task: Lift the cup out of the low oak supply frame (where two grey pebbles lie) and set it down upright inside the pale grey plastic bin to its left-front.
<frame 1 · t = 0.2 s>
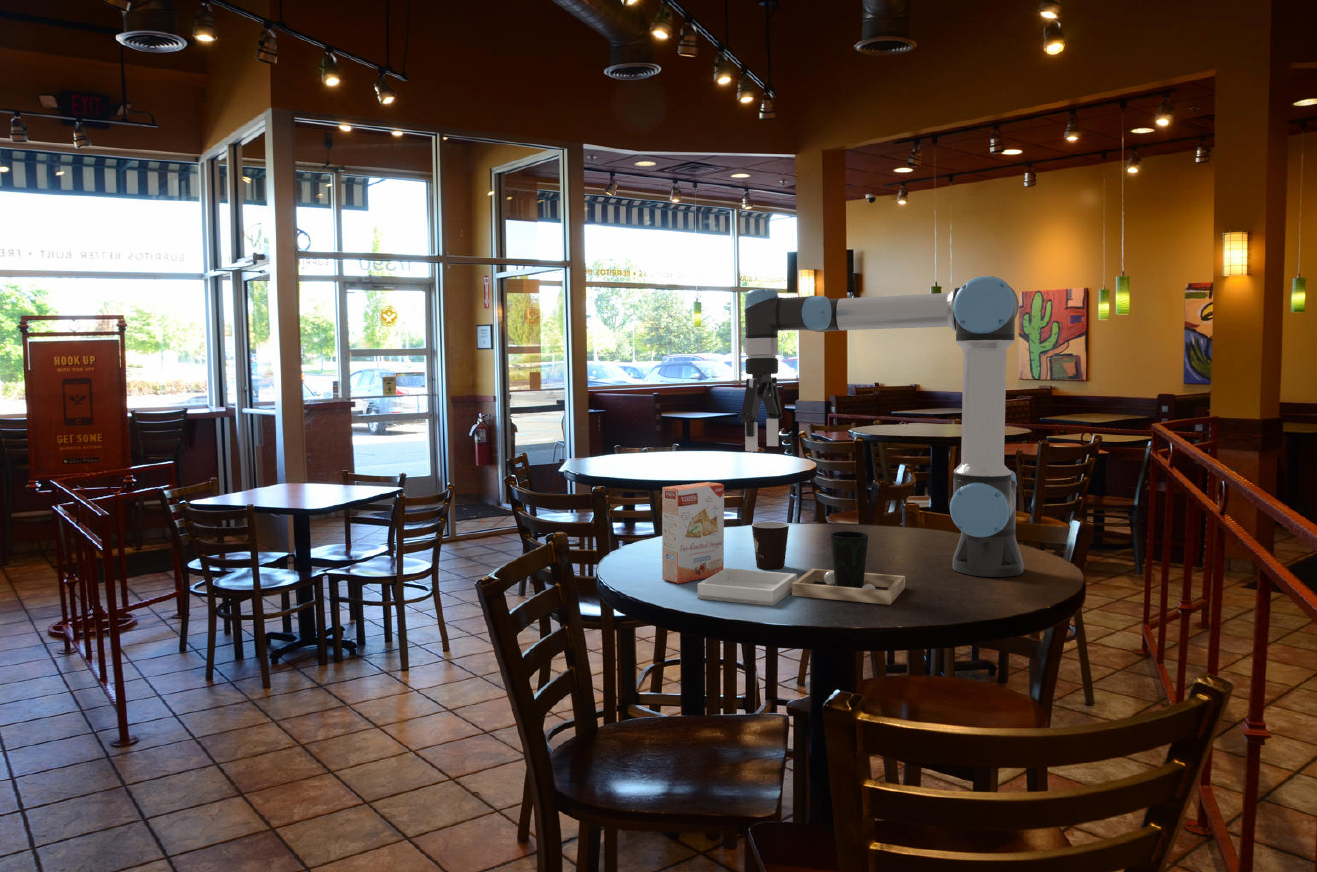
hand: (762, 448, 221), 28 cm above the table, fingers open, 13 cm apart
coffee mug: (771, 566, 223), on the table
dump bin: (748, 593, 197), on the table
supply frame: (849, 591, 197), on the table
cup: (849, 592, 197), resting in supply frame
pebble a: (868, 598, 191), resting in supply frame
pebble b: (831, 584, 203), resting in supply frame
cracker box: (694, 578, 212), on the table
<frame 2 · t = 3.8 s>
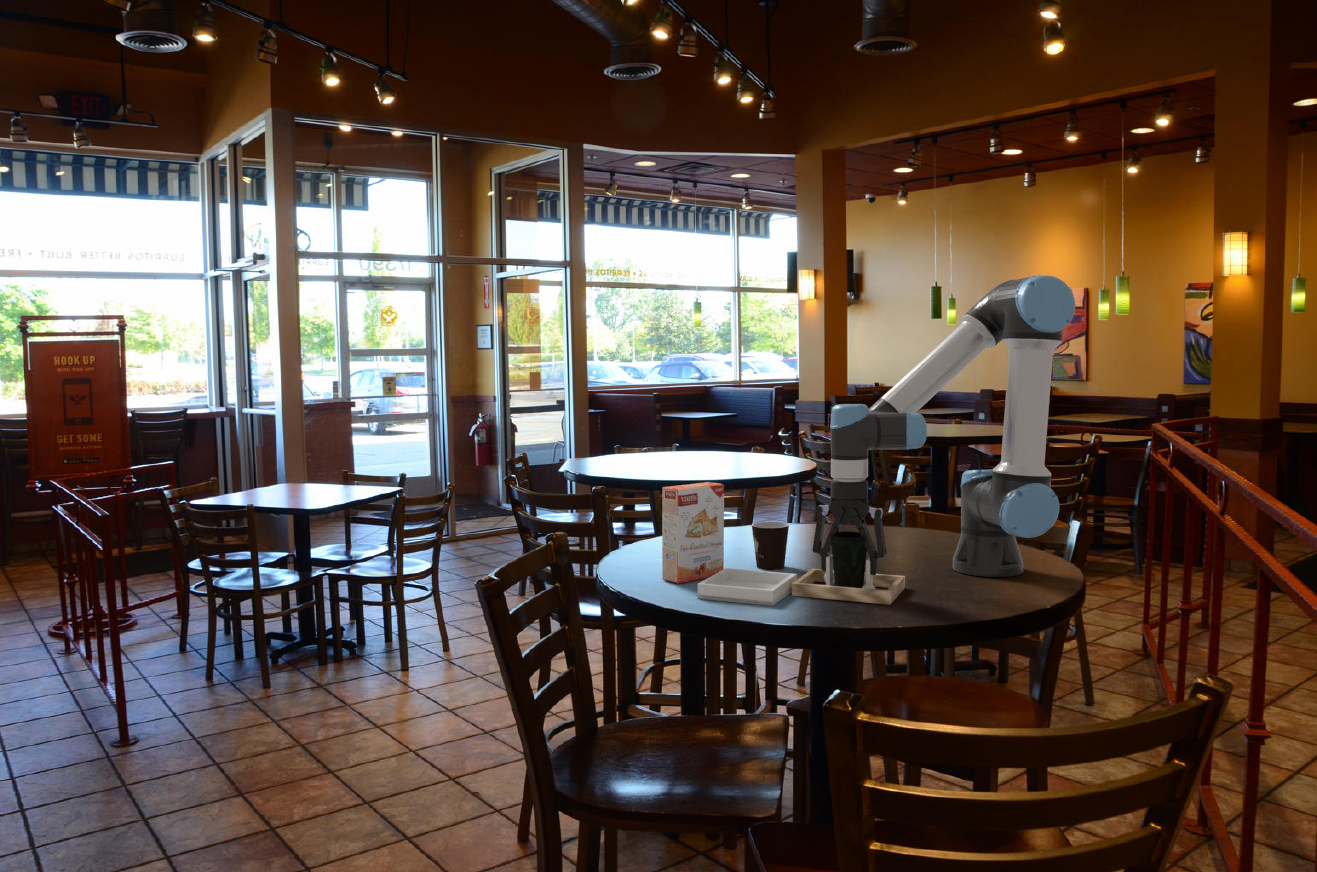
hand: (849, 588, 197), 1 cm above the table, fingers closed on cup, 8 cm apart
cup: (849, 592, 197), resting in supply frame, touching gripper
everything else where it was.
when the fingers open (3 cm above the table, at t = 9.1 s): cup drops 2 cm, resting on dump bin.
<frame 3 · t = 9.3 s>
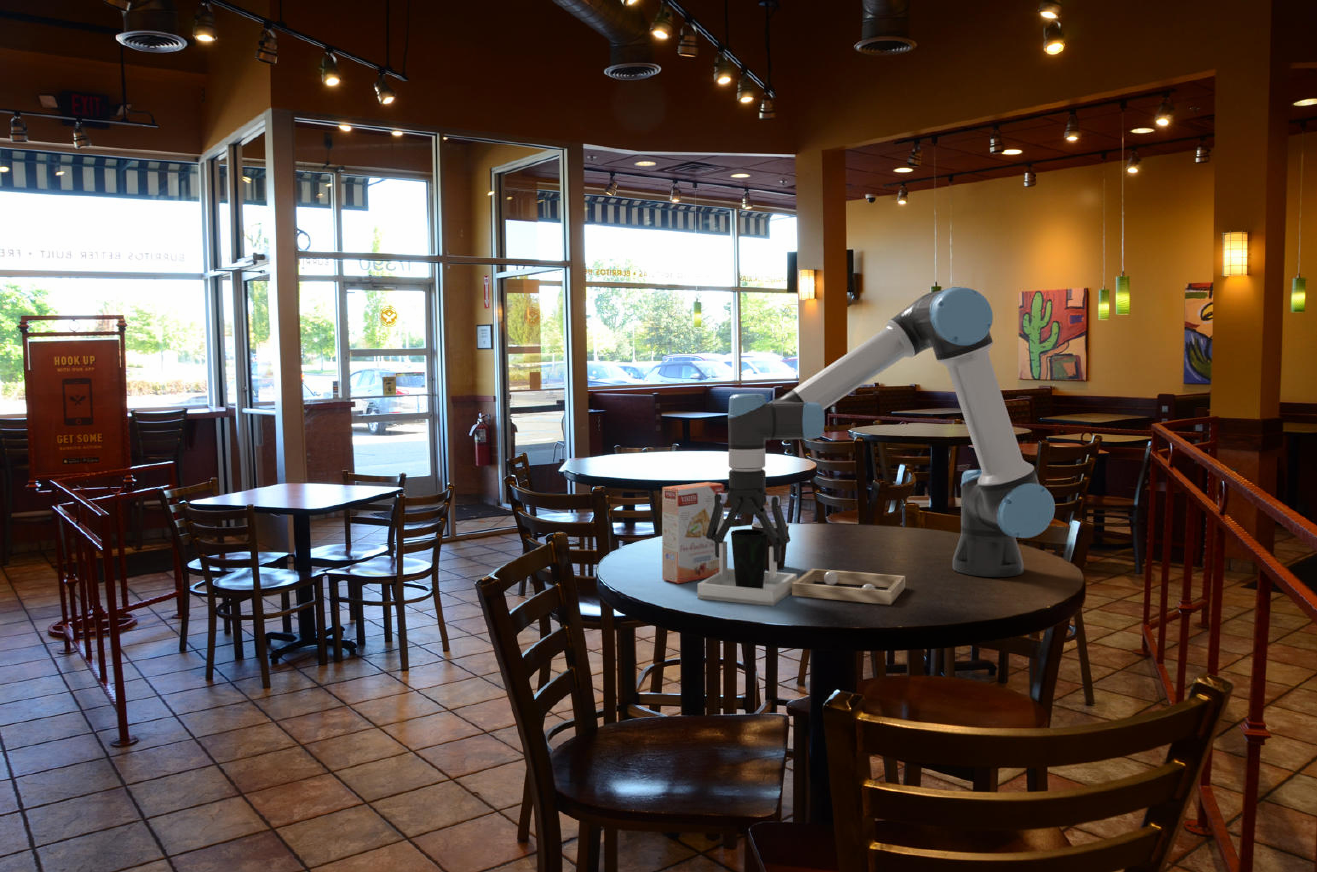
hand: (748, 575, 197), 4 cm above the table, fingers open, 10 cm apart
cup: (749, 590, 197), point 1 cm above the table, touching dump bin
everything else where it was.
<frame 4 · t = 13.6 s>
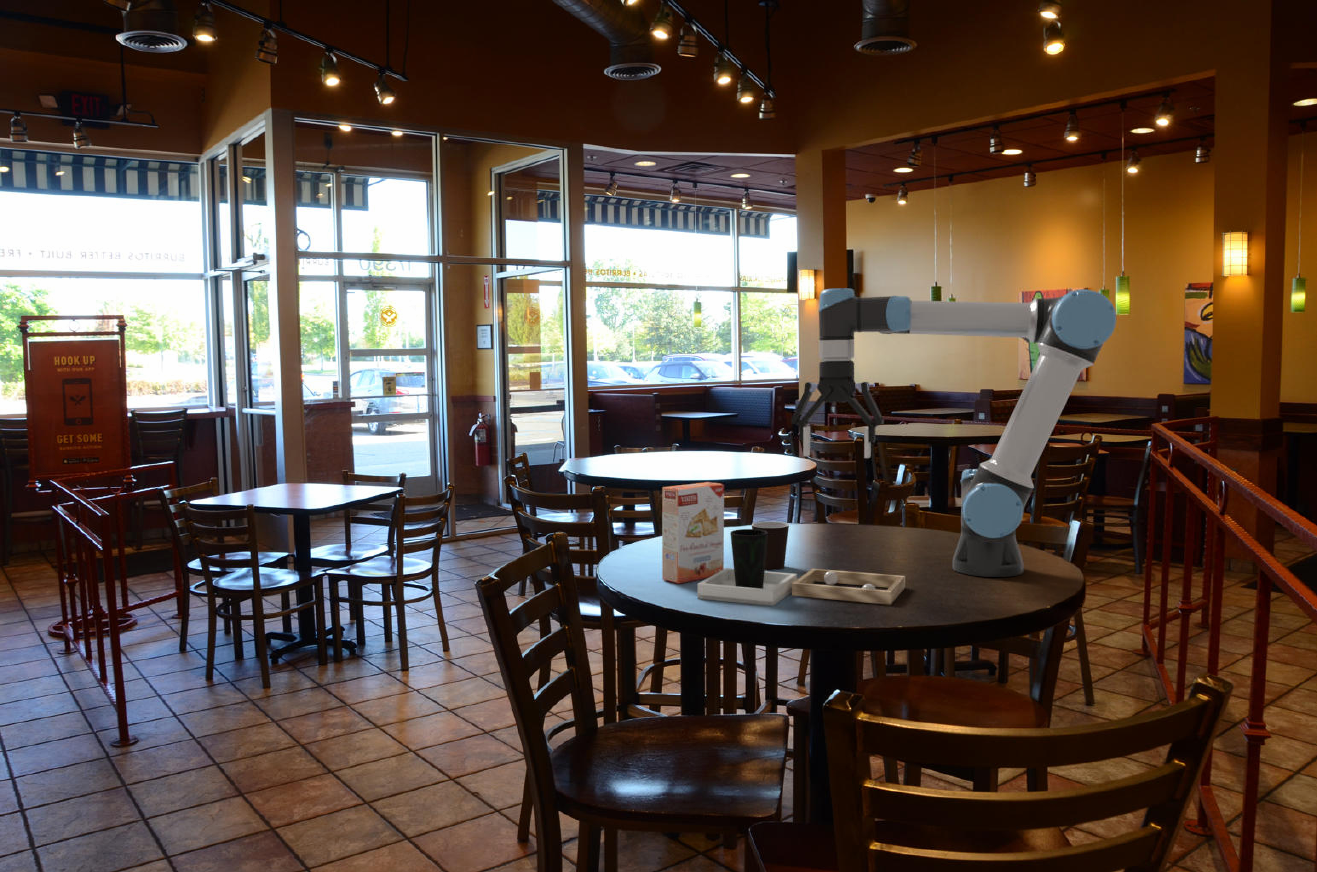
hand: (836, 456, 210), 27 cm above the table, fingers open, 13 cm apart
nothing on the table moved.
at the end: cup inside the target area on the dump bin (0.3 cm from its centre), point 0.6 cm above the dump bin's base; cup tilted 0°; cup touching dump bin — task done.
